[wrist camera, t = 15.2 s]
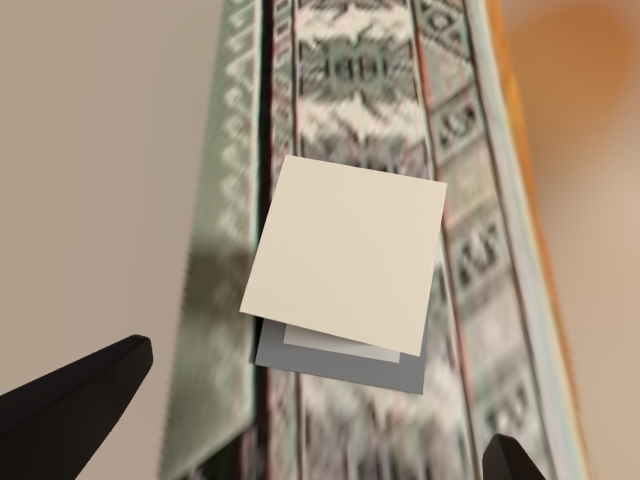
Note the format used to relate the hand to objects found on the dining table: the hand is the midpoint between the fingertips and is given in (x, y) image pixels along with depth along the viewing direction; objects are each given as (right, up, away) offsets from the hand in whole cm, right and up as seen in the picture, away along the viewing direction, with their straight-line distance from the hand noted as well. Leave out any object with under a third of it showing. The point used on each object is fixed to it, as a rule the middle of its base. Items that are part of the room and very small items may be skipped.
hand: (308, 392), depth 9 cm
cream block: (+2, 0, +13) cm, 13 cm away
